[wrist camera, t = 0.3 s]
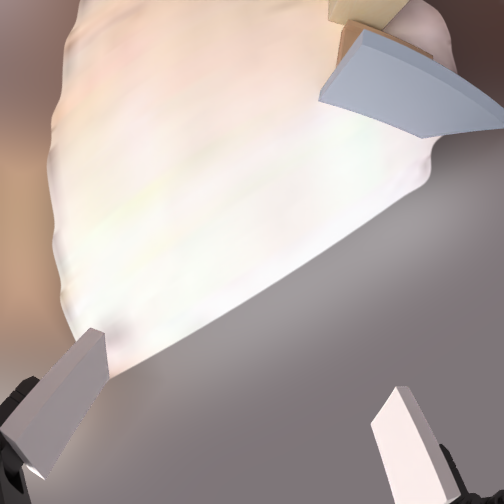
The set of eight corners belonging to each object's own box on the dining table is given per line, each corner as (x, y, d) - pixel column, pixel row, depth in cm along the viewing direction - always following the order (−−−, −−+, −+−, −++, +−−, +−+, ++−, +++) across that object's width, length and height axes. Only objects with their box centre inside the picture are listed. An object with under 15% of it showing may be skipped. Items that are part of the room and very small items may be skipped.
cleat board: (331, 28, 28) (368, -46, 11) (428, 67, 28) (500, 30, 11) (318, 101, 31) (362, 44, 14) (421, 138, 32) (509, 127, 14)
